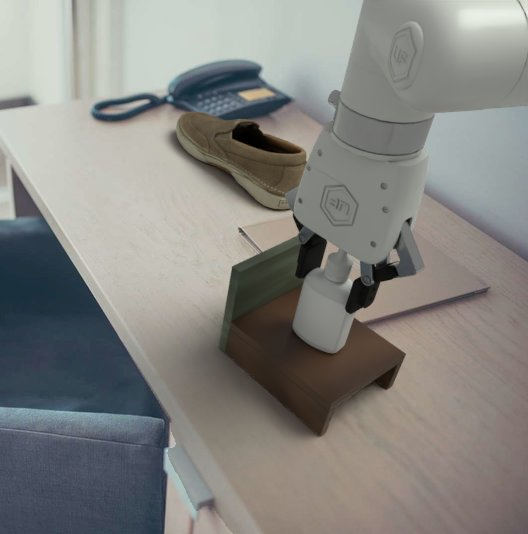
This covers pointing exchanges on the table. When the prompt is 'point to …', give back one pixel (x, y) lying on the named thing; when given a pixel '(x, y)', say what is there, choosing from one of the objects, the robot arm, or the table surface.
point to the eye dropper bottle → (325, 305)
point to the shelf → (296, 341)
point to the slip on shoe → (244, 155)
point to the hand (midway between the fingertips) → (331, 288)
